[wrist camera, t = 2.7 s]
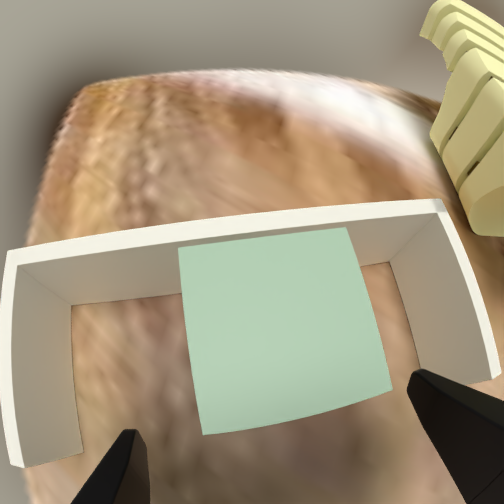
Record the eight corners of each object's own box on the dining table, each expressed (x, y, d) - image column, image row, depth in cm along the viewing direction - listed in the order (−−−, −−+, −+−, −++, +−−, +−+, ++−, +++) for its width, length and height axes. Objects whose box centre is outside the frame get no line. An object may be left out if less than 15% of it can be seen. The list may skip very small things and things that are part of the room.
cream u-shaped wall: (435, 386, 18) (501, 372, 11) (71, 451, 14) (10, 464, 8) (394, 248, 23) (440, 198, 16) (60, 293, 19) (7, 250, 13)
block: (292, 394, 17) (392, 390, 6) (220, 407, 17) (202, 435, 6) (278, 327, 19) (346, 227, 8) (208, 338, 19) (177, 247, 7)
